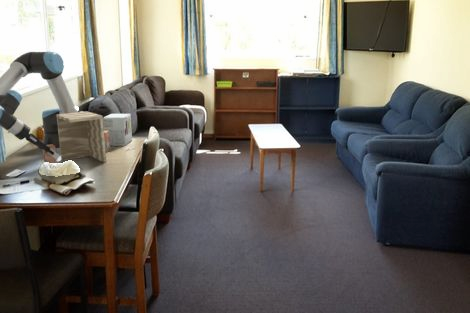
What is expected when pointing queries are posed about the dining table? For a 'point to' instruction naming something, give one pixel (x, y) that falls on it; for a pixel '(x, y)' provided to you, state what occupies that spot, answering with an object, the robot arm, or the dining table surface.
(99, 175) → the dining table surface
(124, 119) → the supplement box
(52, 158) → the terracotta block
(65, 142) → the open side box
